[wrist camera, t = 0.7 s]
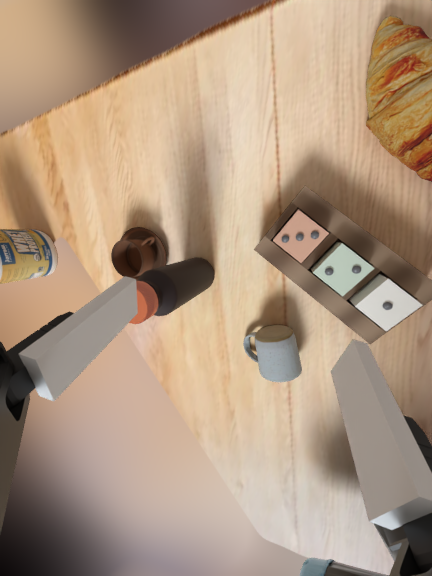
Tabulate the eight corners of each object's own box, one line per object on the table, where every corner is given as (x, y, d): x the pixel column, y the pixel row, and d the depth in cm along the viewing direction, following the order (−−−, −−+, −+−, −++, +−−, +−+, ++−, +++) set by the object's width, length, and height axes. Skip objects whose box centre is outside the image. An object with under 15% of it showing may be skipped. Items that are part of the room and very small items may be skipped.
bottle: (179, 264, 44) (98, 287, 26) (206, 251, 42) (138, 268, 23) (192, 294, 45) (122, 337, 27) (220, 283, 42) (163, 323, 24)
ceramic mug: (294, 320, 39) (292, 339, 33) (301, 359, 40) (302, 384, 34) (241, 325, 43) (230, 343, 37) (249, 360, 45) (241, 384, 38)
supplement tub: (67, 254, 55) (-23, 263, 39) (50, 284, 60) (-35, 302, 44) (37, 219, 55) (-63, 214, 40) (23, 251, 60) (-71, 258, 45)
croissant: (346, 72, 31) (326, 58, 26) (442, -25, 23) (438, -71, 19) (409, 202, 32) (402, 211, 27) (522, 150, 24) (539, 150, 19)
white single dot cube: (408, 297, 29) (423, 305, 26) (376, 321, 31) (386, 332, 28) (378, 273, 30) (388, 278, 26) (348, 298, 32) (355, 306, 28)
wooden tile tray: (423, 281, 31) (444, 290, 27) (360, 329, 36) (370, 344, 31) (303, 191, 34) (305, 185, 29) (258, 247, 38) (253, 249, 34)
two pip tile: (366, 264, 30) (375, 268, 26) (337, 290, 32) (342, 297, 28) (337, 241, 30) (342, 243, 27) (310, 268, 32) (312, 272, 29)
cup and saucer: (134, 217, 46) (111, 215, 40) (179, 245, 44) (161, 247, 38) (118, 264, 50) (96, 269, 44) (158, 292, 48) (140, 300, 43)
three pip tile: (325, 233, 31) (329, 233, 27) (300, 260, 33) (301, 263, 29) (297, 211, 31) (298, 209, 28) (274, 239, 33) (272, 240, 30)
